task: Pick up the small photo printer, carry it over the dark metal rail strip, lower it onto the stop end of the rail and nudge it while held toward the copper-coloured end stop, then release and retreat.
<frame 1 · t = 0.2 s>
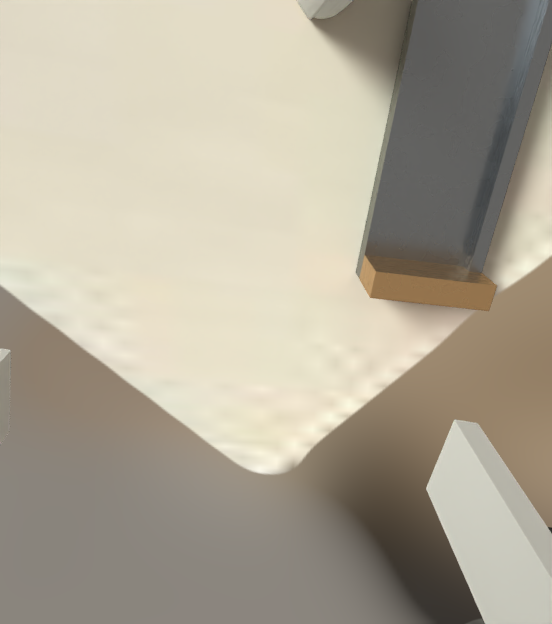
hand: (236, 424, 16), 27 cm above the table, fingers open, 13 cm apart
rail: (462, 66, 37), on the table
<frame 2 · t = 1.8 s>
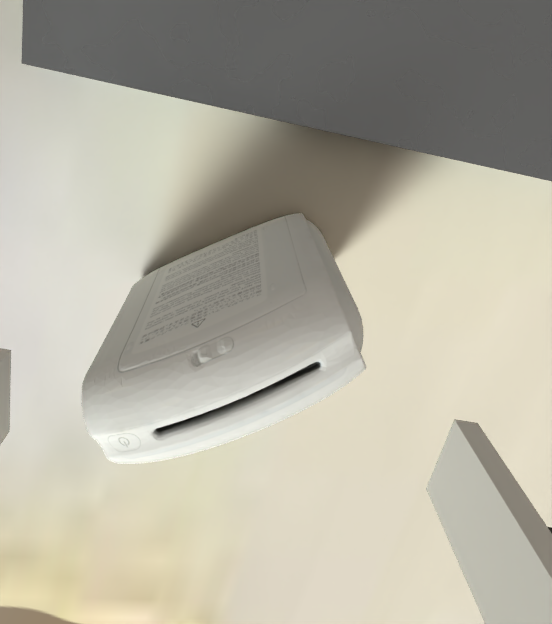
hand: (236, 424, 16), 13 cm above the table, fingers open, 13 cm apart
photo printer: (230, 274, 28), on the table
rail: (413, 38, 23), on the table
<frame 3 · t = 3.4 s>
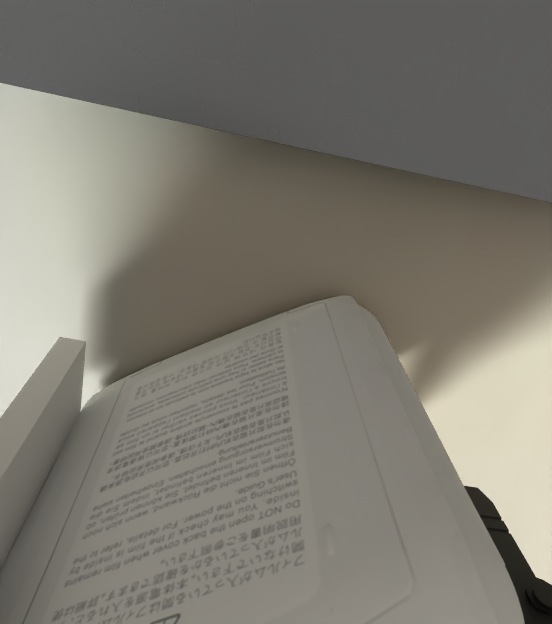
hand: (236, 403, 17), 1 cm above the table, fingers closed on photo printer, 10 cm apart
photo printer: (236, 381, 18), on the table, touching gripper
rail: (551, 11, 14), on the table
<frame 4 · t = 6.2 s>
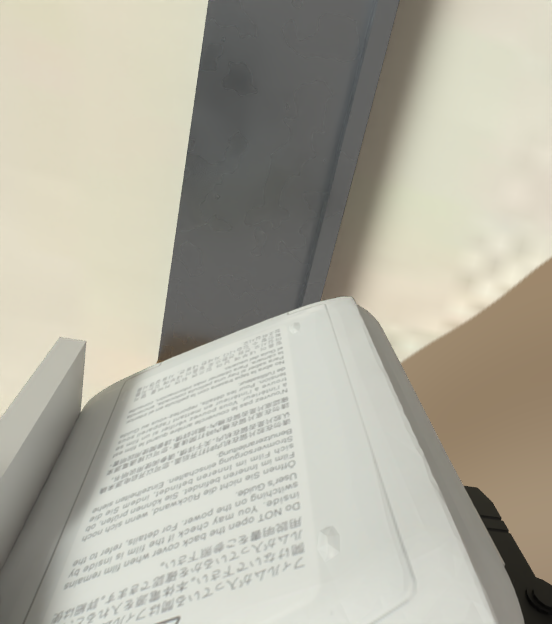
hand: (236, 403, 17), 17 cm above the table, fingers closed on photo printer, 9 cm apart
photo printer: (236, 382, 18), point 16 cm above the table, touching gripper
rail: (270, 148, 30), on the table
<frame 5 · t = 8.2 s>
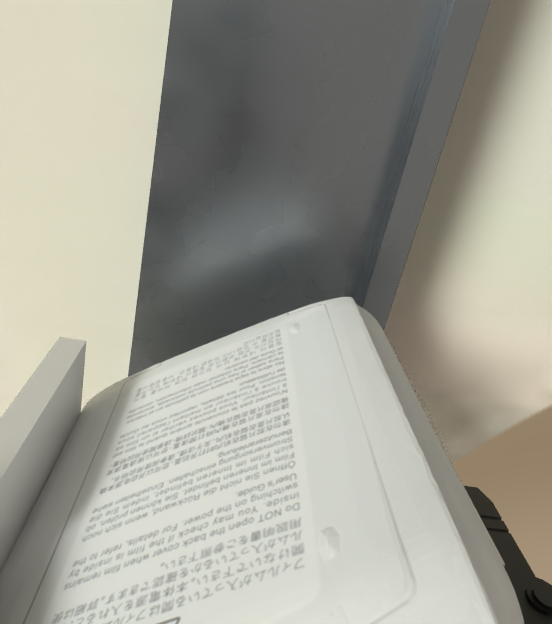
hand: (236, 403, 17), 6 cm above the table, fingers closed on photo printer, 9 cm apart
photo printer: (236, 382, 18), point 4 cm above the table, touching gripper
rail: (292, 132, 19), on the table
when the fingers open (5 cm above the table, at t = 9.5 s): photo printer drops 1 cm, resting on rail.
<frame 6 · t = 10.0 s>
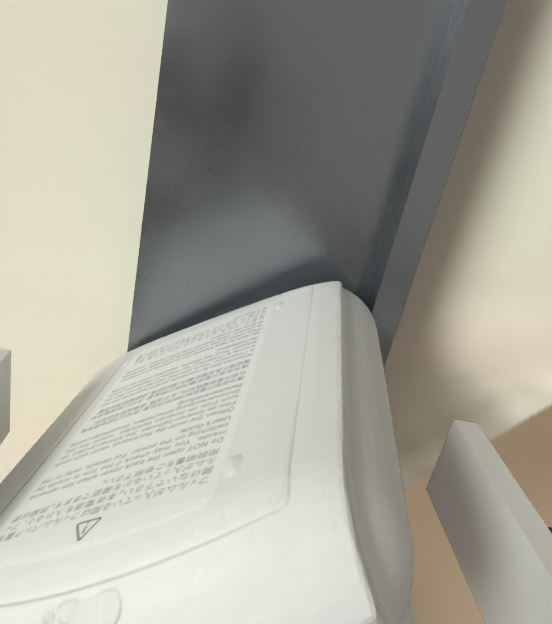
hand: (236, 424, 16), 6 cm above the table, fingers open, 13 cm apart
photo printer: (236, 360, 19), point 2 cm above the table, touching rail
rail: (306, 86, 17), on the table
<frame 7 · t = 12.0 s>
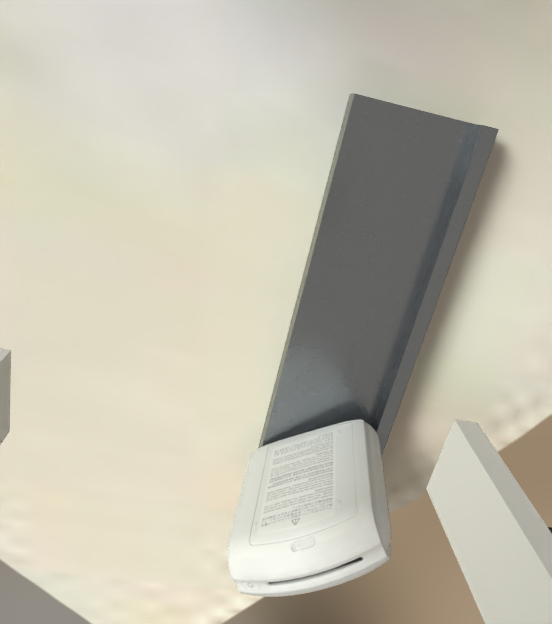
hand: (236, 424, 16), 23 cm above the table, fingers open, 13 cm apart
photo printer: (313, 450, 41), point 2 cm above the table, touching rail
rail: (349, 332, 40), on the table
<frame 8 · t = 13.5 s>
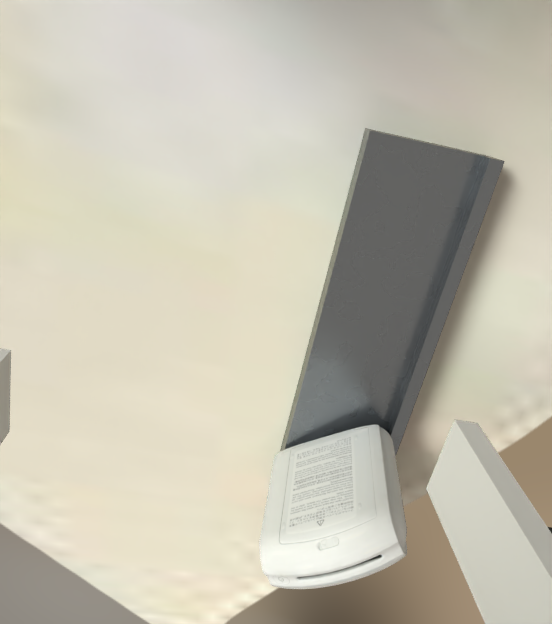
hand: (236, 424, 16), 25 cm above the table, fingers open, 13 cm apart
photo printer: (332, 451, 45), point 2 cm above the table, touching rail
rail: (364, 344, 43), on the table
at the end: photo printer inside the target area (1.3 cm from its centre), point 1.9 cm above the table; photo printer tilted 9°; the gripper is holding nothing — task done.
